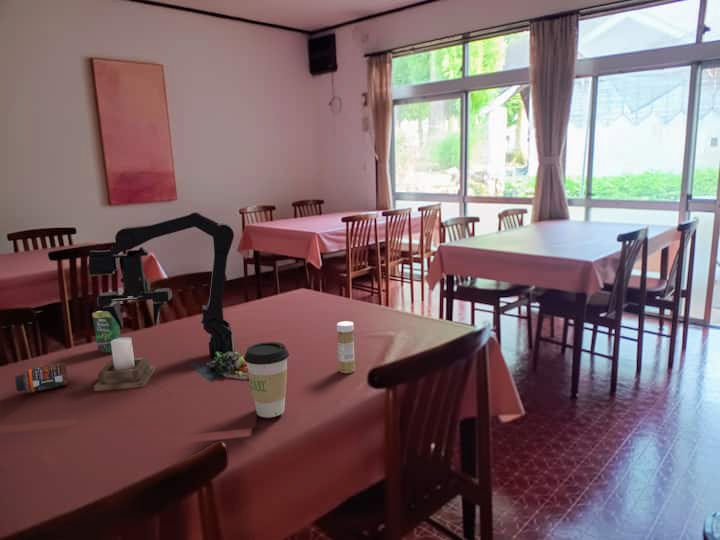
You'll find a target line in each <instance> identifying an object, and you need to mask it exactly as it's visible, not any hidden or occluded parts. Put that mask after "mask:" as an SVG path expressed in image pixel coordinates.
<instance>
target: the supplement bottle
mask: <svg viewBox="0 0 720 540" xmlns="http://www.w3.org/2000/svg"><path fill="white" fill-rule="evenodd" d="M68 383H69V380H68V372H67V366H66V364H65V363H64V362H60V363H56V364H50V365H45V366H40V367H35V368H30V369H27V370H25V371H24V372H23V373H22V374H19V375H15V376H14V385H15V391H16V392H22V391H26V392H28V393H36V392H41V391H45V390H50V389H55V388H58V387H63V386H66V385H68Z"/></svg>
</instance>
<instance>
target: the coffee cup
mask: <svg viewBox="0 0 720 540" xmlns="http://www.w3.org/2000/svg"><path fill="white" fill-rule="evenodd" d="M244 355H245V357H244V360H245V361H246V362H247V366H248V375H249V380H248V381H249V384H250V389H251V394H252V399H253V402H254V405H255V406H254V407H255V410H256V415H258V416H259V417H262V418H274V417H277V416H281V415H282V414H283V413H284V412H285V406H286V405H285V404H286V403H285V402H286V395H287V376H288V358H289V356H290V353H289V350H288V349H287V347H286V345H285V344H284V343H281V342H278V341H277V342H276V341H266V342H260V343H255V344H253V345H251V346H248V347H247V349H246V352H245V354H244Z"/></svg>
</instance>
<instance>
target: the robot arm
mask: <svg viewBox="0 0 720 540" xmlns="http://www.w3.org/2000/svg"><path fill="white" fill-rule="evenodd" d="M191 228H197V229H199V230H200V231H202V232H203V233H205V234H207V235H209V236H211V237H212V242H213V253H214V254H213V262H212V263H213V264H212V270H211V272H212V273H211V279H210V280H211V281H210V291H209V292H210V293H209V299H208V302H207V305H204V304H202V315H201V317H200V324H201V325H202V324H203V330H204V331H205V332H206V333H207V334H209V335H210V337H209V338H210V340H209V341H208V351H209V356H210V360H212V359H213V358H214V357H216V358H217V355H216V354H215V353H216V352H217V351H218V352H219V354H221V355H223V354H226V352H228V353H229V352H233V353H235V352H236V349H235V345H234V333H233V332H232V327H231V323H229V322H228V321H227V320H225V319H224V311H223V299H224V298H223V296H224V290H225V289H224V288H225V280H226V271H227V262H228V256H229V253H230V250H231V247H232V244H233V241H234V238H235V237H234V236H235V234H234V230H233V229H232V227H231V226H230V225H229V224H228V223H224V222H223V223H222V222H220V223H218V222H217V221H215V220H212V219H210V218H208V217H206V216H204V215H202V214H201V213H200V212H198V211H197V212H196V211H193V212H190V213H189V214H186V215H185V214H184V215H181V216H177V217H175V218H171V219H167V220H164V221H160V222H156V223H151V224H146V225H145V224H143V225H132V226H125V227H123V228H122V229H119V230H118V231H117V233H116V234H115V237H114V241H115V243H114V244H113V246H112V247H110V249H108V250H90V251H89V252H88V255H89V256H88V265H87V266H88V272H89V274H90V276H91V277H95V276H96V277H97V276H106V275H107V276H109V275H115V271H119V268H120V275H121V278H120V283H121V284H122V290H123V292H122V294H119V292H117V291H108V292H107V291H106V292H104V291H103V293H101V294H99V295H98V297H96V304H97V307H102V309H103V310H106V311H107V312H110V314H111V315H112V316H113V317H114V319H115V320H116V322H117V323H118V325H119V328H120V329H123V328H124V321H123V316H122V313H121V302H129V301H141V300H153V301H154V302H153V303H152V312H153V324H154V326H158V322H159V319H160V314H161V310H162V308H163V305H165V304H166V303H167V302H169V301H170V300H171V299H172V298H173V291H172V289H171V288H169V287H165V288H163V287H161V288H156V289H155V290H154V291H153V292H151V281H150V280H149V279H147V278H146V274H145V273H144V266H143V257H145V256H146V257H147V256H148V255H149V254H150V252H149V251H148V250H146V249H145V248H144V247H143V246H141V247H139V249H135V248H136V247H138V246H140V245H142V244H145V243H147V242H149V241H150V240H153V239H155V238H159V237H163V236H167V235H170V234H174V233H178V232H180V231H184V230H187V229H191ZM124 250H125V251H126V253H123V254H121V252H124ZM119 266H120V267H119Z"/></svg>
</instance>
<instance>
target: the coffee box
mask: <svg viewBox="0 0 720 540" xmlns="http://www.w3.org/2000/svg"><path fill="white" fill-rule="evenodd" d="M91 314H92V320H93V328H94V332H95V338H96V345H97V351H98V352H101V351H103V353H107V352H110V353H109V354H112V348H111V341H112V340H114V339H117V338H122V336H121V330H120V329H121V328H120V326H119V325H118V323H117V322H116V320H115V319H114V317H113V316H112V315H111V314H110V312H109V311H108V310H106V311H104V310H97V311H95V312H92V313H91Z"/></svg>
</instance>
